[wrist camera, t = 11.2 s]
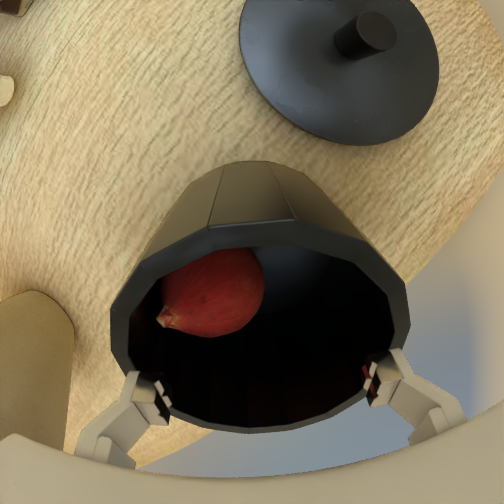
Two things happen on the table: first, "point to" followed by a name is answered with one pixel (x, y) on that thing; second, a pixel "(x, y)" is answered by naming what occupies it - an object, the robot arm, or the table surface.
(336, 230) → the bin
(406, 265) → the table surface
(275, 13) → the bin lid
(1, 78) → the lightbulb
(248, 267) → the onion
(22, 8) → the coffee box
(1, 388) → the plant pot
